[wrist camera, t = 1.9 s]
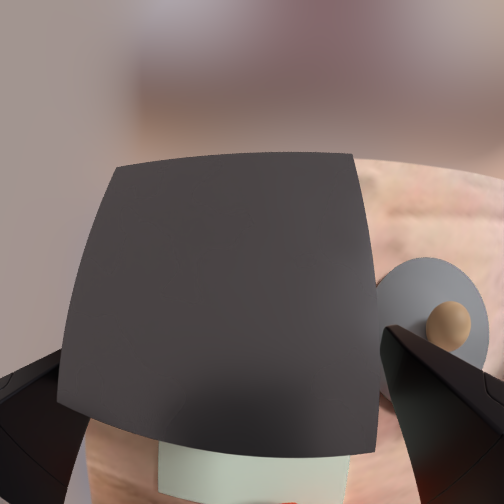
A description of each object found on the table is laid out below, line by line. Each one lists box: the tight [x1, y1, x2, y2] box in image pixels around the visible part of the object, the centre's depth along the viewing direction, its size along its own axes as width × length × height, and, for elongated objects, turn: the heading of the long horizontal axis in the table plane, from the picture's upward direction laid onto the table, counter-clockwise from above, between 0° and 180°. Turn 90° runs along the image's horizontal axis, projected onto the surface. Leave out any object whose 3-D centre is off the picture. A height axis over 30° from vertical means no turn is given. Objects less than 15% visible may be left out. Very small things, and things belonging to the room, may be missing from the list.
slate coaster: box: [376, 257, 489, 402], centre depth 15 cm, size 11×11×1 cm
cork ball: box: [426, 301, 471, 352], centre depth 13 cm, size 3×3×3 cm
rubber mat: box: [158, 441, 350, 504], centre depth 14 cm, size 15×12×1 cm
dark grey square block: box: [57, 152, 380, 458], centre depth 10 cm, size 6×6×12 cm
